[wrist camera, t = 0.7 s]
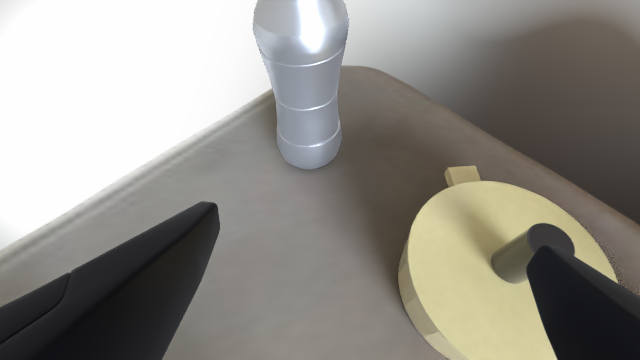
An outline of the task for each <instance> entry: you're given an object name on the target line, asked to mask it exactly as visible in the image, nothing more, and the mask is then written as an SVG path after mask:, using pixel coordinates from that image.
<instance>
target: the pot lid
mask: <svg viewBox="0 0 640 360" xmlns="http://www.w3.org/2000/svg"><path fill="white" fill-rule="evenodd" d="M541 245H551V246H558V247H561V248H562V249H564V250H566V251H567V252H569V253H570V254H572V255H573V256H575V257H577V258H578V259H580V260H581V261H583V262H585V263H586V264H588V265H589V266H591V267H593V268H594V269H596V270H597V271H599V272H601V273H602V274H604V275H605V276H607V277H609V278H610V279H612V280H613V281H615V282H617V283H618V281H617V279H616V276H615V273H614V271H613V269H612V267H611V265H610V263H609V261H608V259H607V258H606V256H605V254H604V253H603V251H602V250H601V248H600V247H599V245H598V244H597V243H596V241H595V240H594V239H593V238H592V236H591V235H590V234H589V233H588V232H587V231H586V230H585V229H584V228H583V227H582V225H581V224H579V223H578V222H577V221H576V220H575V219H574V218H573V217H572V216H570V215H569V214H568V213H567V212H565V211H564V210H563V209H561V208H560V207H559V206H557V205H555V204H554V203H552V202H551V201H549V200H547V199H546V198H544V197H542V196H540V195H538V194H536V193H534V192H531V191H529V190H526V189H524V188H521V187H517V186H514V185H511V184H506V183H501V182H492V181H473V182H465V183H461V184H457V185H454V186H451V187H449V188H446V189H444V190H442V191H441V192H439V193H437V194H436V195H435V196H433V197H432V198H431V199H429V200H428V201H427V203H426V204H425V205H424V206H423V207H422V208H421V210H420V211H419V213H418V214H417V216H416V217H415V219H414V222H413V224H412V226H411V228H410V232H409V235H408V240H407V248H406V261H407V268H408V275H409V278H410V282H411V286H412V289H413V291H414V294H415V296H416V298H417V301H418V303H419V305H420V306H421V308H422V310H423V312H424V314H425V315H426V317H427V318H428V320H429V321H430V322H431V324H432V325H433V327H434V328H435V329H436V330H437V332H438V333H439V334H440V335H441V336H442V337H443V338H444V340H445V341H446V342H447V343H449V344H450V345H451V346H452V347H453V348H454V349H455V350H456V351H457V352H458V353H460V354H461V355H462V356H464V357H465V358H466V359H468V360H557V358H556V356H555V353H554V351H553V349H552V346H551V344H550V342H549V339H548V337H547V335H546V332H545V330H544V327H543V324H542V321H541V318H540V315H539V312H538V309H537V306H536V303H535V299H534V296H533V293H532V290H531V287H530V284H529V280H528V277H527V274H526V267H527V264H528V263H529V261H530V259H531V258H532V256H533V255H534V253H535V252H536V250H537V249H538V247H540V246H541Z"/></svg>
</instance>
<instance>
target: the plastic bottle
mask: <svg viewBox="0 0 640 360" xmlns="http://www.w3.org/2000/svg"><path fill="white" fill-rule="evenodd" d="M348 27H349V19H348V14H347V10H346V5H345V3H344V1H343V0H258V1H257V4H256V7H255V10H254V20H253V31H254V35H255V38H256V41H257V45H258V47H259V50H260V53H261V56H262V58H263V61H264V64H265V66H266V69H267V71H268V74H269V77H270V81H271V85H272V89H273V92H274V96H275V100H276V110H277V145H278V148H279V150H280V152H281V154H282V155H283V157H284V159H285V160H286V161H287V162H288V163H290V164H291V165H293V166H295V167H298V168H302V169H316V168H320V167H322V166H324V165H326V164H328V163H330V162H331V161H332V160H333V159H334V158H335V157H336V155H337V153H338V151H339V148H340V145H341V142H342V132H341V125H340V121H339V116H338V101H337V94H338V84H339V75H340V68H341V63H342V59H343V54H344V49H345V45H346V40H347V35H348Z"/></svg>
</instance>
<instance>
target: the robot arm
mask: <svg viewBox="0 0 640 360" xmlns="http://www.w3.org/2000/svg"><path fill="white" fill-rule="evenodd" d="M219 230H220V222H219V214H218V207H217V204H215V203H212V202H204V201H202V202H199V203H197V204H196V205H194V206H192V207H190V208H188V209H186V210H184V211H182V212H181V213H179V214H177V215H175V216H173V217H171V218H169V219H167V220H166V221H164V222H162V223H160V224H158V225H156V226H154V227H152V228H151V229H149V230H147V231H145V232H143V233H141V234H139V235H138V236H136V237H134V238H132V239H130V240H128V241H126V242H124V243H123V244H121V245H119V246H117V247H115V248H113V249H111V250H109V251H108V252H106V253H104V254H102V255H100V256H98V257H96V258H94V259H93V260H91V261H89V262H87V263H85V264H83V265H81V266H79V267H78V268H76V269H74V270H72V271H71V273H66V274H64V275H62V276H61V277H59V278H57V279H55V280H53V281H51V282H49V283H47V284H46V285H44V286H42V287H40V288H38V289H36V290H34V291H32V292H30V293H28V294H26V295H24V296H22V297H20V298H18V299H16V300H14V301H12V302H10V303H8V304H6V305H4V306H2V307H0V360H162V358H163V356H164V354H165V352H166V350H167V348H168V346H169V344H170V342H171V340H172V338H173V336H174V334H175V332H176V330H177V328H178V326H179V324H180V322H181V320H182V318H183V316H184V314H185V312H186V310H187V308H188V306H189V304H190V302H191V300H192V298H193V296H194V294H195V292H196V290H197V288H198V286H199V284H200V282H201V280H202V277H203V275H204V272H205V269H206V267H207V264H208V261H209V259H210V256H211V253H212V250H213V248H214V245H215V242H216V239H217V237H218V234H219ZM526 274H527V277H528V280H529V284H530V287H531V290H532V293H533V296H534V299H535V303H536V306H537V309H538V312H539V315H540V318H541V321H542V324H543V327H544V330H545V332H546V335H547V337H548V339H549V342H550V344H551V346H552V349H553V351H554V353H555V356H556V358H557V360H640V297H639V296H637V295H636V294H634V293H632V292H631V291H629V290H628V289H626V288H625V287H623V286H621V285H620V284H618V283H617V282H615V281H613V280H612V279H610V278H609V277H607V276H605V275H604V274H602V273H601V272H599V271H597V270H596V269H594V268H593V267H591V266H589V265H588V264H586V263H585V262H583V261H581V260H580V259H578V258H577V257H575V256H573V255H572V254H570V253H569V252H567V251H566V250H564V249H562V248H561V247H558V246H551V245H541V246H540V247H538V249H537V250H536V252H535V253H534V255H533V256H532V258H531V259H530V261H529V263H528V264H527V267H526Z"/></svg>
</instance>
